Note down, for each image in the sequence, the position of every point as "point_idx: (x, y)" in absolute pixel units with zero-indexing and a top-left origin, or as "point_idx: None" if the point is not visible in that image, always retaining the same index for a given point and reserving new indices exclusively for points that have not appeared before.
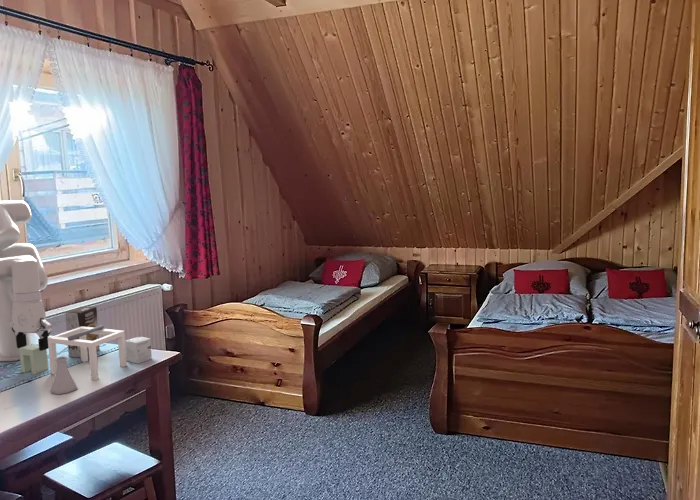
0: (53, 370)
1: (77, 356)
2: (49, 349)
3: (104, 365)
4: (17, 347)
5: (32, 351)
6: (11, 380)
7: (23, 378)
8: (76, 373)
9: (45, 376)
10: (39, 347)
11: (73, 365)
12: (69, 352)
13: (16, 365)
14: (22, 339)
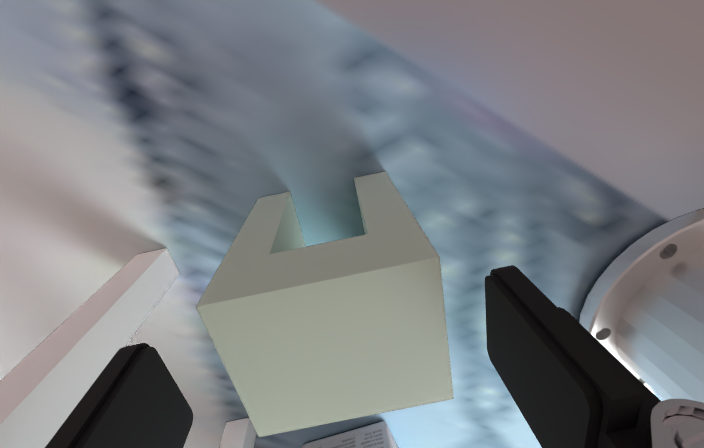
0: (126, 267)
1: (333, 437)
2: (10, 401)
3: None
4: (505, 268)
5: (211, 293)
6: (267, 25)
7: (234, 104)
8: (53, 326)
9: (147, 207)
10: (111, 374)
11: (220, 375)
12: (381, 444)
13: (537, 220)
14: (538, 396)
